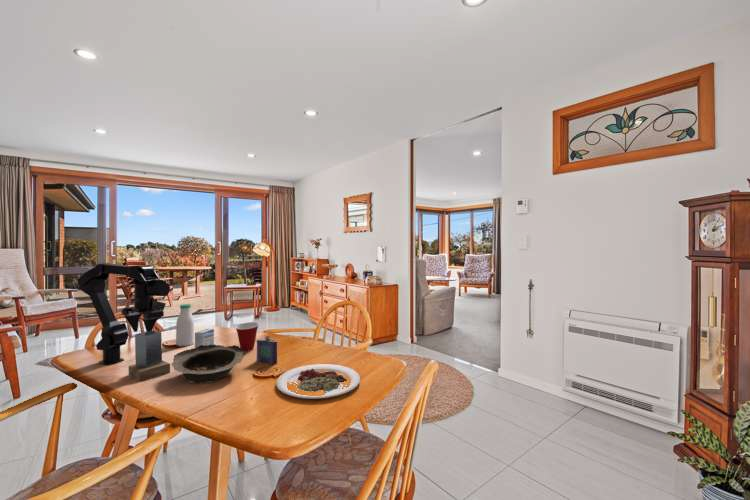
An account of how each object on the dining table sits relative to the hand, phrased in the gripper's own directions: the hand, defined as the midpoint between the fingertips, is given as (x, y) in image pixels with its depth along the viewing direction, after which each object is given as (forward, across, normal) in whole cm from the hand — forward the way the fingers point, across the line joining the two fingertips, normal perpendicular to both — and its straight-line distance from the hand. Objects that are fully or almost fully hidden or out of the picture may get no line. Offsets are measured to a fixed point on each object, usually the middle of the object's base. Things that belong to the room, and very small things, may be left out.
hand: (142, 332), depth 135 cm
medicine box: (+13, -4, -26) cm, 29 cm away
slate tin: (+9, -13, +5) cm, 17 cm away
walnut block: (+14, -13, +5) cm, 20 cm away
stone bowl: (+13, -35, -4) cm, 38 cm away
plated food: (+14, -76, -17) cm, 79 cm away
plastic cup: (+13, -23, -34) cm, 43 cm away
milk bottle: (+13, +10, -26) cm, 31 cm away
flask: (+13, -44, -25) cm, 52 cm away
